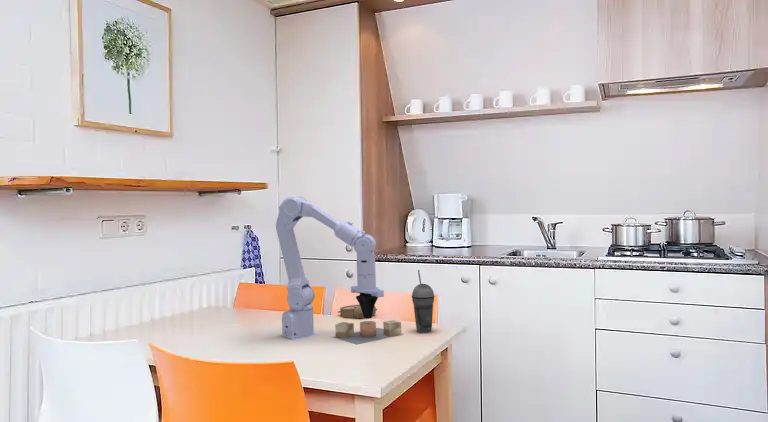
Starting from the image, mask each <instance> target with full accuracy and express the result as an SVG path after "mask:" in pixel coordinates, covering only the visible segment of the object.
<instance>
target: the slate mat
mask: <svg viewBox="0 0 768 422" xmlns="http://www.w3.org/2000/svg"><path fill="white" fill-rule="evenodd" d="M402 335H403V336H404V333H402V332H401V335H398V336H399V337H400V336H402ZM398 336H397V337H398ZM393 337H395V336H392V337H391V338H393ZM332 338H333V339H337V340H340V341H344V342H346V343H350V344H354V345H361V344H366V343H370V342H375V341H380V340H383V339H389V338H390V337H389V336H387V335H384V328H381V327H376V336H375V337H368V338H366V337H361V336H360V331H354V336H353V337H350V338H347V339H343V338H337V337H336V335H335V336H332Z"/></svg>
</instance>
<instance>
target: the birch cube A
mask: <svg viewBox="0 0 768 422" xmlns="http://www.w3.org/2000/svg"><path fill="white" fill-rule="evenodd" d="M354 325H355V324H354V323H353V322H348V321H342V322H339V323H336V324H335V327H334V328H335V329H334V330H335V336H336V337H337V338H343V339H347V338H350V337H353V336H354V333H355V329H354V327H355V326H354Z"/></svg>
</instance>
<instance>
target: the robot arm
mask: <svg viewBox="0 0 768 422" xmlns="http://www.w3.org/2000/svg"><path fill="white" fill-rule="evenodd" d="M277 215H278V216H277V218H276V222H275V230H276V235H277V238H278V241H279V247H280V251H281V255H282V258H283V262H284V267H285V271H286V276H287V279H288V282H287V286H286V290H287V298H286V302H287V304H288V306H289V310H286V311H284V312H283V313H282V315H281V329H282V330H281V331H282V335H281V337H283V338H286V339H289V340H292V341H297V340H301V339H306V338H307V339H308V338H311V337H312V338H313V337H317V336H319V335H320V334H319V333H315V330H314V329H315V327H314V326H315V324H314V323H315V321H314V306H313V304H312V303H313V302H314V300H315V297H316V295H315V290H314V288H312V286H311V284H310V282H309V280H308V278H307V277H306V276H305V275H306V274H305V270H304V267H303V264H302V263H303V262H302V259H301V255H300V251H299V247H298V243H297V238H296V234H295V229H294V228H295V227H296V225H297V223H298V222H299V221H300V220H301V219H302V218H304V217H306V218H307V217H308V218H313V219H315V220H316V221H318V222H320V223H321V224H323V226H324V225H325V226H326V227H327V228H330V229H331V230H332V231H334V236H335V237H336V238H338V239H339V240H341V241H342V242H344V243H345V244H347V245H348V246H350V247H351V248H353V250H354V252H355V254H356V280H357V281H356V282H357V284H356V285H354V286H350V293H351V294H355V293H356V294H359V295H356V296H355V299H356V300H357V302H358V305H360V307H361V309H362V313H363V316H364V318H363V319H366V320H367V319H372V317H373V316H372V314H373V309H374V306H375V307H376V303H377V301H378V300H379V298H383V297H385V292H384V290H383V289H380V288H379V287H378V286H377V279H376V275H377V274H376V258H375V249H376V246H377V243H376V239H375V238H374V236H372V234H369V233H366V231H365V230H361V229H359V228H357V227H355V226H354V225H353V224H354V223H353V222H352V221H347V220H342V221H340V220H338V219H337V218H335V217H334V216H332V215H331V214H330V213H328V212H327V211H326V210H324V209H322V208H321V207H320V206H319V205H317V204H316V203H315V202H312V201H311V200H308V199H307V198H305V197H303V196H296V197H295V196H289V197H286V198H285V199H284V200H283V201H282V202H281V203H280V205H279V206H278V214H277Z"/></svg>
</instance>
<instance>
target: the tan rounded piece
mask: <svg viewBox="0 0 768 422" xmlns="http://www.w3.org/2000/svg"><path fill="white" fill-rule="evenodd" d="M376 328H377V322H376V321H374V320H364V321H360V322H359V332H360V336H361V337H366V338H368V337H375V336H376Z"/></svg>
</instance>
